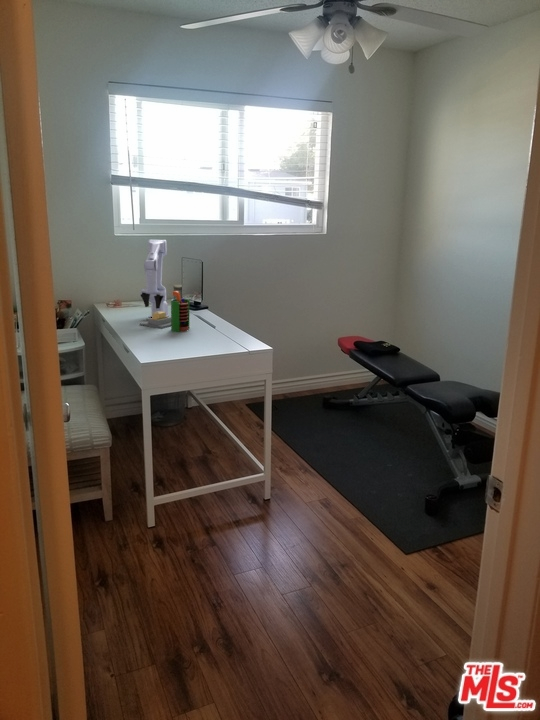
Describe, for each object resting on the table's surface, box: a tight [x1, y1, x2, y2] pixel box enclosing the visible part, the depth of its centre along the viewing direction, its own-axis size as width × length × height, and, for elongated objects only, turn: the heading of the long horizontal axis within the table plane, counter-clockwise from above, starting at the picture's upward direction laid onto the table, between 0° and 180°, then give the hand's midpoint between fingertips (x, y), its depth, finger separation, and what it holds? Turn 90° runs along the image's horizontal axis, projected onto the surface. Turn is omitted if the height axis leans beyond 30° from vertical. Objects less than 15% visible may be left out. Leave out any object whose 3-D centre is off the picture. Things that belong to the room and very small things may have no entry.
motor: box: [170, 290, 190, 333], centre depth 279 cm, size 10×9×20 cm
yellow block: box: [150, 311, 169, 320], centre depth 292 cm, size 9×4×6 cm, turn 150°
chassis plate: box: [139, 316, 171, 329], centre depth 293 cm, size 14×15×4 cm
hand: (152, 307), depth 294 cm, fingers open, 7 cm apart
